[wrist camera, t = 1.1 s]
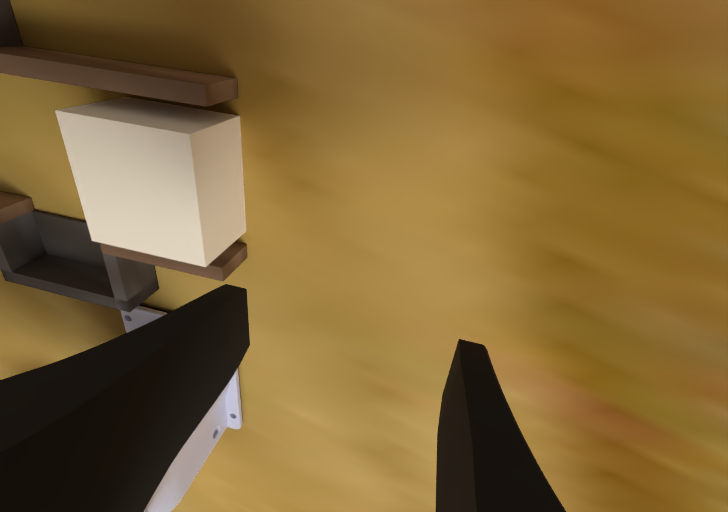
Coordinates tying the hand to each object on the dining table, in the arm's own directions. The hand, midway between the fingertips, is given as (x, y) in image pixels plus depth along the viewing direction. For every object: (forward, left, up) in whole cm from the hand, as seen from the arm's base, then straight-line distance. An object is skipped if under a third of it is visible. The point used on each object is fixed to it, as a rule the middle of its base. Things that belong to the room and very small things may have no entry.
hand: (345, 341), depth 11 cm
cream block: (0, +11, -10) cm, 15 cm away
